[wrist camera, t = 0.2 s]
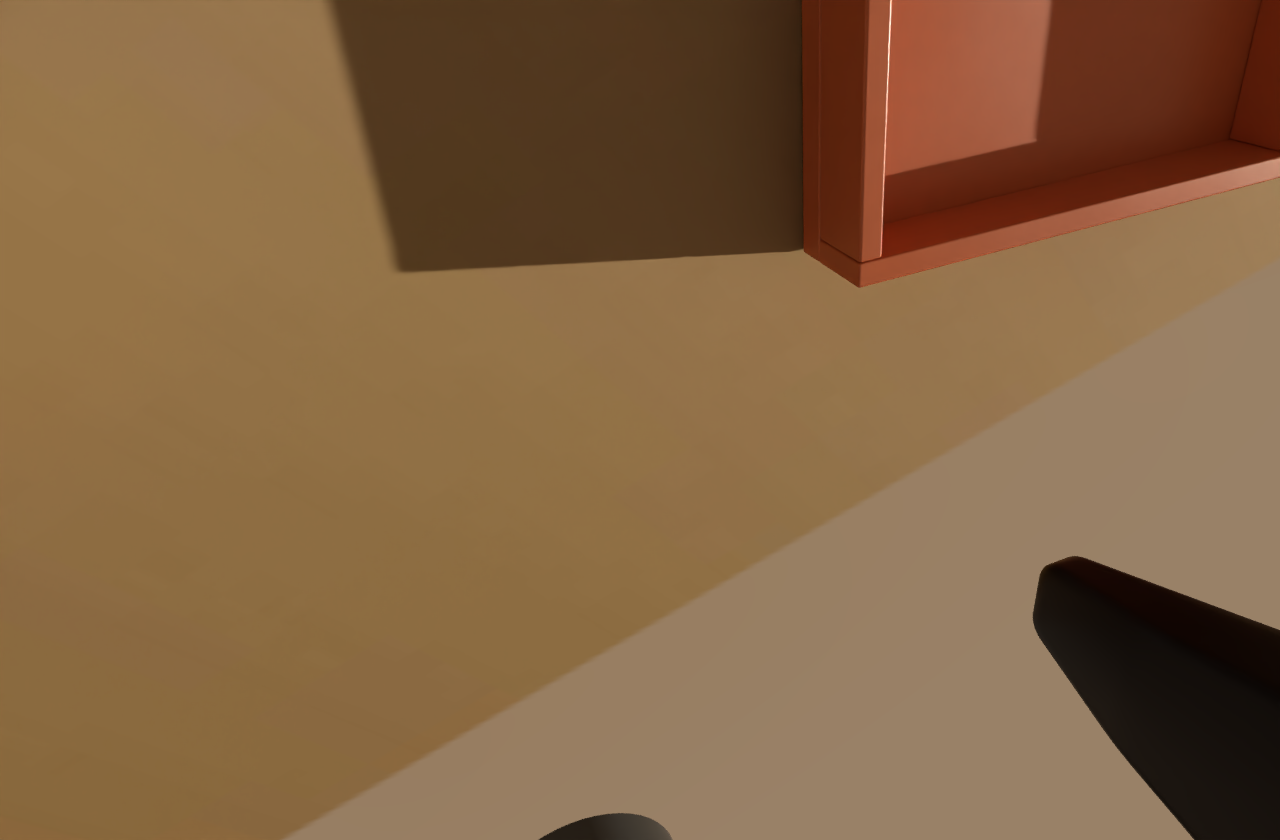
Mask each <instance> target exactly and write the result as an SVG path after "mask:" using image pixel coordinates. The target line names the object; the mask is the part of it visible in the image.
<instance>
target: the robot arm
mask: <svg viewBox="0 0 1280 840" xmlns="http://www.w3.org/2000/svg"><path fill="white" fill-rule="evenodd" d="M1033 623H1034V626H1035V629H1036V632H1037V633H1038V636H1039V638H1040V639H1041V641H1042V642H1043V644H1044V645H1045V646H1046V648H1047V649H1048V651H1049V652H1050V653H1051V655H1052V656H1053V658H1054V659H1055V661H1056V662H1057V664H1058V665H1059V666H1060V668H1061V669H1062V671H1063V672H1064V674H1065V675H1066V676H1067V678H1068V679H1069V681H1070V682H1071V683H1072V685H1073V687H1074V688H1075V689H1076V691H1077V692H1078V694H1079V695H1080V697H1081V698H1082V699H1083V701H1084V702H1085V704H1086V705H1087V706H1088V708H1089V710H1090V711H1091V712H1092V714H1093V715H1094V717H1095V718H1096V720H1097V721H1098V722H1099V724H1100V725H1101V727H1102V728H1103V730H1104V731H1105V732H1106V734H1107V735H1108V736H1109V738H1110V739H1111V740H1112V742H1113V743H1114V744H1115V746H1116V747H1117V748H1118V749H1119V751H1120V752H1121V753H1122V755H1123V756H1124V757H1125V758H1126V759H1127V761H1128V762H1129V763H1130V764H1131V766H1132V767H1133V768H1134V769H1135V770H1136V772H1137V773H1138V774H1139V775H1140V776H1141V777H1142V779H1143V780H1144V781H1145V782H1146V783H1147V784H1148V786H1149V787H1150V788H1151V789H1152V790H1153V792H1154V793H1155V794H1156V795H1157V796H1158V797H1159V799H1160V800H1161V801H1162V802H1163V803H1164V804H1165V806H1166V807H1167V808H1168V809H1169V810H1170V812H1171V813H1172V814H1173V815H1174V816H1175V817H1176V819H1177V820H1178V821H1179V822H1180V823H1181V824H1182V826H1183V827H1184V828H1185V829H1186V830H1187V832H1188V833H1189V834H1190V835H1191V836H1192V838H1193V839H1194V840H1280V630H1278V629H1275V628H1272V627H1270V626H1267V625H1264V624H1262V623H1259V622H1256V621H1253V620H1251V619H1248V618H1245V617H1243V616H1240V615H1237V614H1235V613H1232V612H1229V611H1226V610H1224V609H1221V608H1218V607H1215V606H1213V605H1210V604H1207V603H1205V602H1202V601H1199V600H1197V599H1194V598H1191V597H1189V596H1186V595H1183V594H1180V593H1178V592H1175V591H1172V590H1169V589H1167V588H1164V587H1162V586H1159V585H1156V584H1153V583H1151V582H1148V581H1146V580H1143V579H1140V578H1137V577H1135V576H1132V575H1129V574H1126V573H1124V572H1121V571H1119V570H1116V569H1113V568H1110V567H1108V566H1105V565H1102V564H1100V563H1097V562H1094V561H1091V560H1088V559H1086V558H1083V557H1078V556H1072V557H1067V558H1065V559H1062V560H1059V561H1057V562H1054V563H1051V564H1049V565H1047V566H1045V567H1044V568H1043V570H1042V571H1041V574H1040V577H1039V582H1038V588H1037V594H1036V599H1035V605H1034V611H1033Z"/></svg>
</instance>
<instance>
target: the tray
mask: <svg viewBox="0 0 1280 840" xmlns="http://www.w3.org/2000/svg"><path fill="white" fill-rule="evenodd" d="M802 80H803V232H804V252H805V253H807V254H808V255H810V256H811V257H813V258H814V259H816V260H818V261H820V262H821V263H822V264H824V265H825V266H827V267H828V268H830V269H831V270H833V271H834V272H836V273H837V274H839V275H840V276H842V277H843V278H845V279H846V280H848V281H849V282H851V283H853V284H854V285H856V286H857V287H864V286H868V285H871V284H875V283H879V282H883V281H887V280H890V279H894V278H898V277H902V276H906V275H910V274H913V273H917V272H921V271H925V270H929V269H932V268H936V267H940V266H944V265H948V264H952V263H955V262H959V261H963V260H967V259H971V258H974V257H978V256H982V255H986V254H990V253H993V252H997V251H1001V250H1005V249H1009V248H1013V247H1016V246H1020V245H1024V244H1028V243H1032V242H1035V241H1039V240H1043V239H1047V238H1051V237H1055V236H1058V235H1062V234H1066V233H1070V232H1074V231H1077V230H1081V229H1085V228H1089V227H1093V226H1097V225H1100V224H1104V223H1108V222H1112V221H1116V220H1119V219H1123V218H1127V217H1131V216H1135V215H1138V214H1142V213H1146V212H1150V211H1154V210H1158V209H1161V208H1165V207H1169V206H1173V205H1177V204H1180V203H1184V202H1188V201H1192V200H1196V199H1200V198H1203V197H1207V196H1211V195H1215V194H1219V193H1222V192H1226V191H1230V190H1234V189H1238V188H1241V187H1245V186H1249V185H1253V184H1257V183H1261V182H1264V181H1268V180H1272V179H1276V178H1280V0H802Z"/></svg>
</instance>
